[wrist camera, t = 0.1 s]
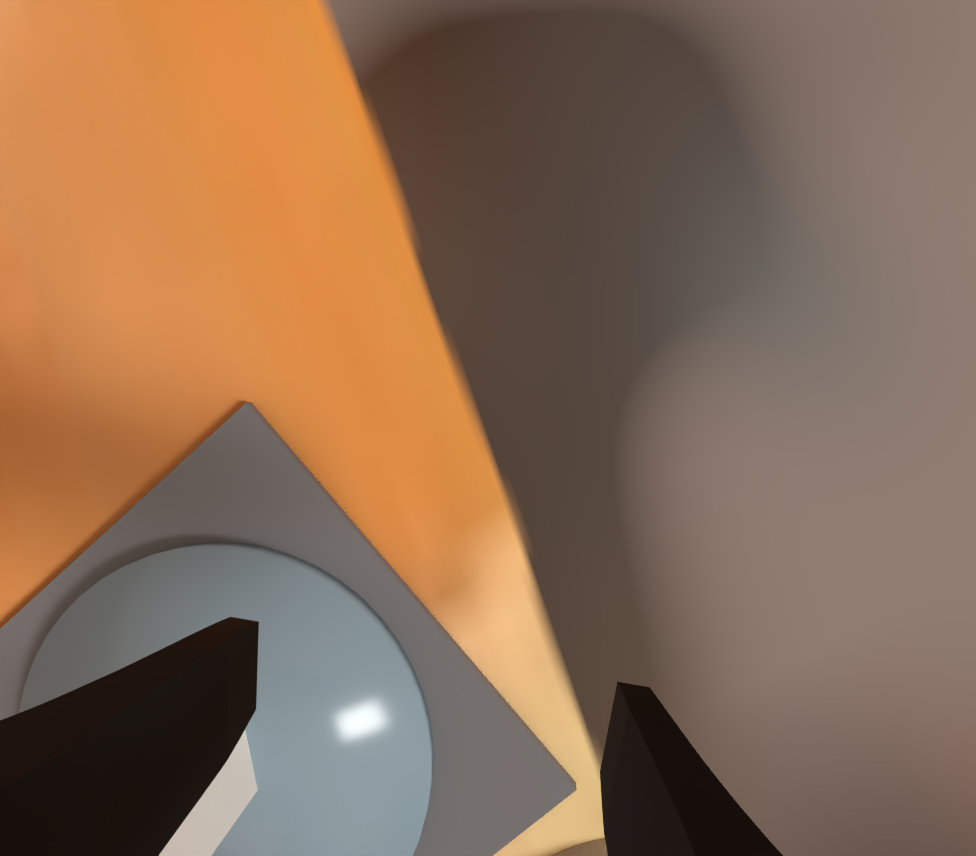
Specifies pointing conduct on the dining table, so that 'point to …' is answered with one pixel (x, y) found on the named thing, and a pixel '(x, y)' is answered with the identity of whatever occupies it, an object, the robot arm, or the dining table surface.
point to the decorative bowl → (586, 849)
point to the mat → (356, 562)
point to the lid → (270, 699)
